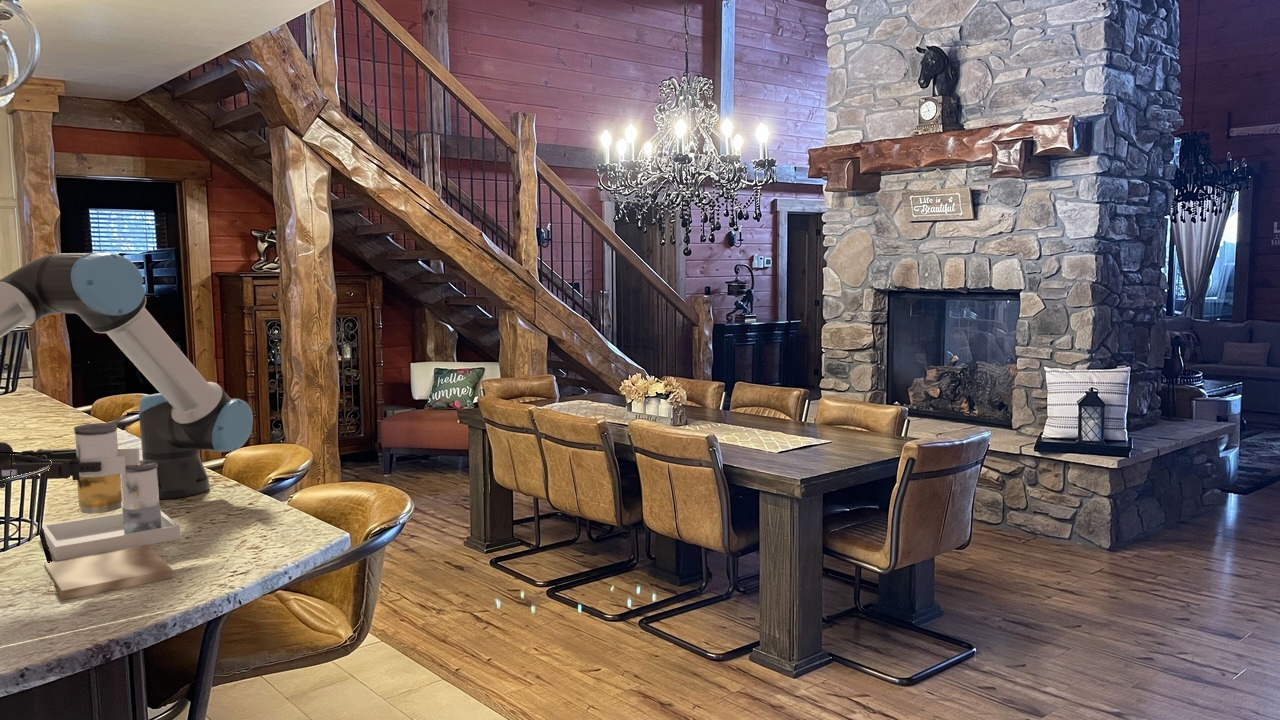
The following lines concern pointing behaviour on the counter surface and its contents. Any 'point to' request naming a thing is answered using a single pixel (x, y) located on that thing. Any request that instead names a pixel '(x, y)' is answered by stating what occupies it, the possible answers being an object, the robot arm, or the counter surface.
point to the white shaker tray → (103, 535)
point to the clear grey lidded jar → (141, 497)
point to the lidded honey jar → (101, 488)
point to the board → (107, 571)
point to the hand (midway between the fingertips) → (131, 460)
